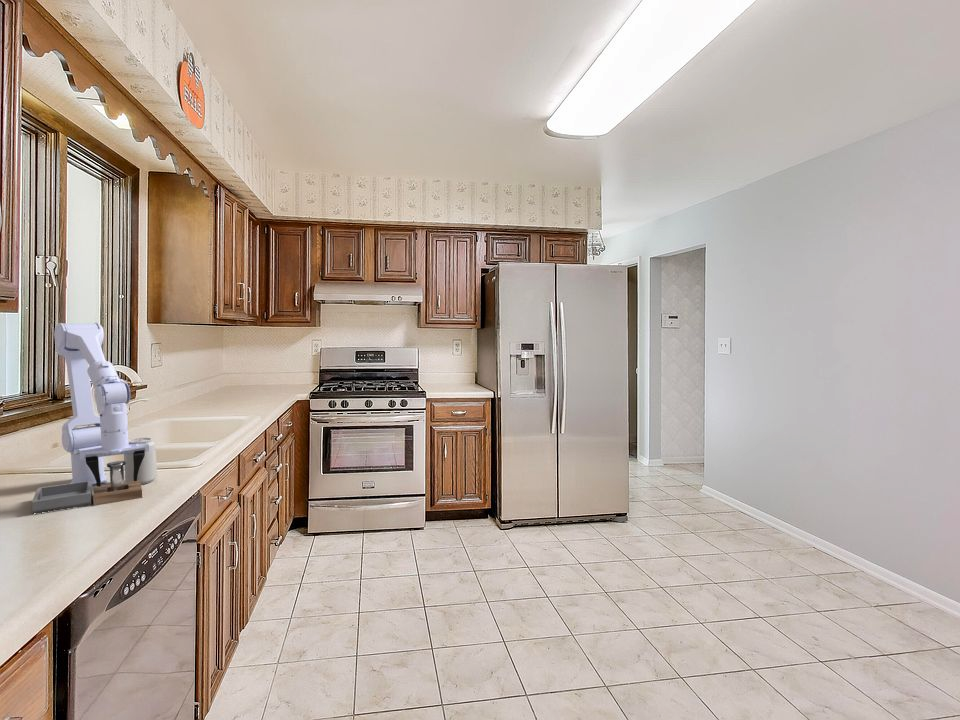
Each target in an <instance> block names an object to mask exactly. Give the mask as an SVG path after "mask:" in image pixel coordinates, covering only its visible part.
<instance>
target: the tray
mask: <svg viewBox="0 0 960 720" xmlns="http://www.w3.org/2000/svg"><path fill="white" fill-rule="evenodd" d="M93 493H94V489H93V485H92V480H90V481H83V482H76V483H71V482H69V483H64V484H57V485H56V484H55V485H49V486H43V487H42V486H41V487H37V489H36V492H35V494H34V496H33V499H32V500H31V514H32V515H33V514H34V513H41V514H43V513H42V512H47V513H49V512H48V511H53V512H55V511H54V510H59V511H61V510H60V509H65V510H68V509H67V508H71V509H74V508H73V507H77V508H83V507H82V506H84V507H89V506H88V505H90V506H92V503H91V502H92V501H93Z"/></svg>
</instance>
